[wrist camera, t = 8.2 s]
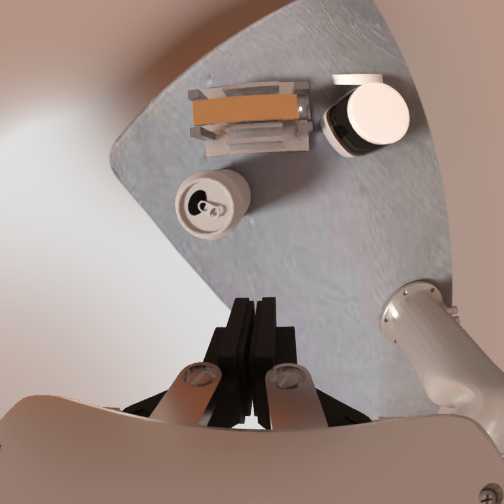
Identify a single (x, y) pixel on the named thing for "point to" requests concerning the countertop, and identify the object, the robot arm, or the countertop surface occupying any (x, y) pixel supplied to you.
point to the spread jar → (365, 116)
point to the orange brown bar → (251, 108)
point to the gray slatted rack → (253, 123)
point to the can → (212, 202)
